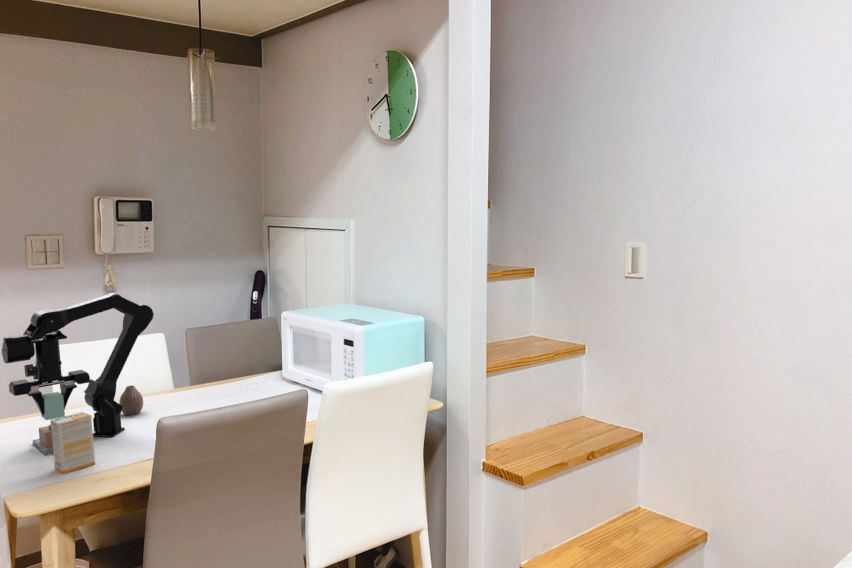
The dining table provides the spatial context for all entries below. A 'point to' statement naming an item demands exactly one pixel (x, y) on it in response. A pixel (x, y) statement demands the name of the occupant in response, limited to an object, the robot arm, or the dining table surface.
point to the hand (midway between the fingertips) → (52, 412)
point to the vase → (131, 401)
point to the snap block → (53, 406)
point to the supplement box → (72, 442)
